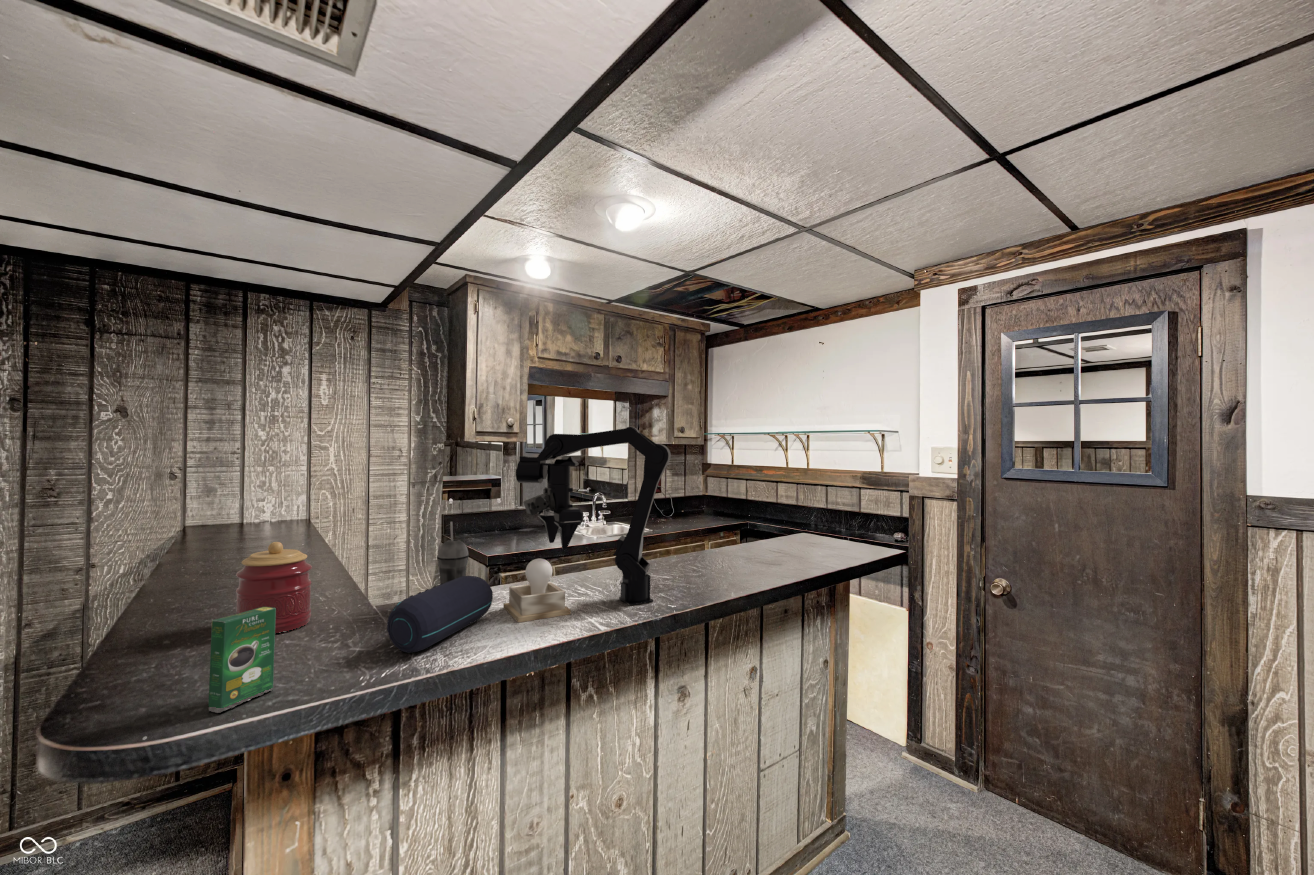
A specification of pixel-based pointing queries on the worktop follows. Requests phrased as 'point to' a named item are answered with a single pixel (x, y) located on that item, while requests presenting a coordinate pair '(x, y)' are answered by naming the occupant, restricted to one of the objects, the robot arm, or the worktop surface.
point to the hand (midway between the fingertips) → (557, 545)
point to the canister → (276, 585)
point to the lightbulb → (538, 575)
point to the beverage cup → (452, 559)
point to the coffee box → (241, 656)
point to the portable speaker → (438, 612)
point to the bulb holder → (536, 603)
